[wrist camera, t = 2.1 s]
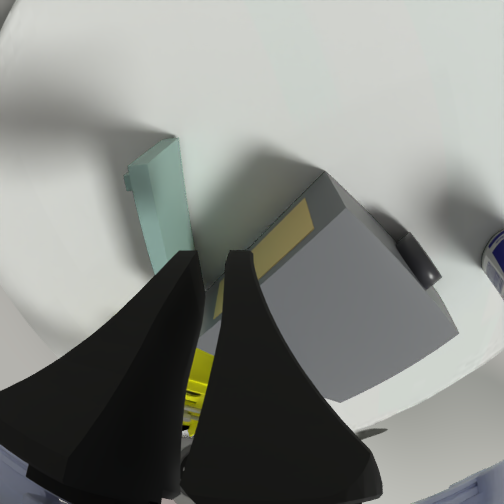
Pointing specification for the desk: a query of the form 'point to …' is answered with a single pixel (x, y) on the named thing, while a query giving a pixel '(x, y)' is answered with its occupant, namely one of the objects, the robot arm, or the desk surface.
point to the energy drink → (495, 261)
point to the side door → (161, 201)
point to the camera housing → (342, 293)
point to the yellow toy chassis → (196, 389)
